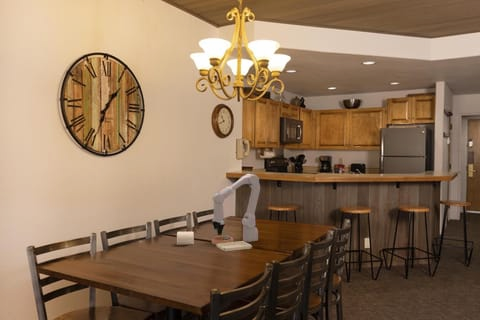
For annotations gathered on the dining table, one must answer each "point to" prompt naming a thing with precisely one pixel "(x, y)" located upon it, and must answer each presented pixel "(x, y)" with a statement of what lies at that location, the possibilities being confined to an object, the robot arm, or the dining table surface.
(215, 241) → the bowl
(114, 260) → the dining table surface
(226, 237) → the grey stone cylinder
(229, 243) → the tray
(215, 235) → the pebble
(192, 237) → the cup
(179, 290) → the dining table surface
